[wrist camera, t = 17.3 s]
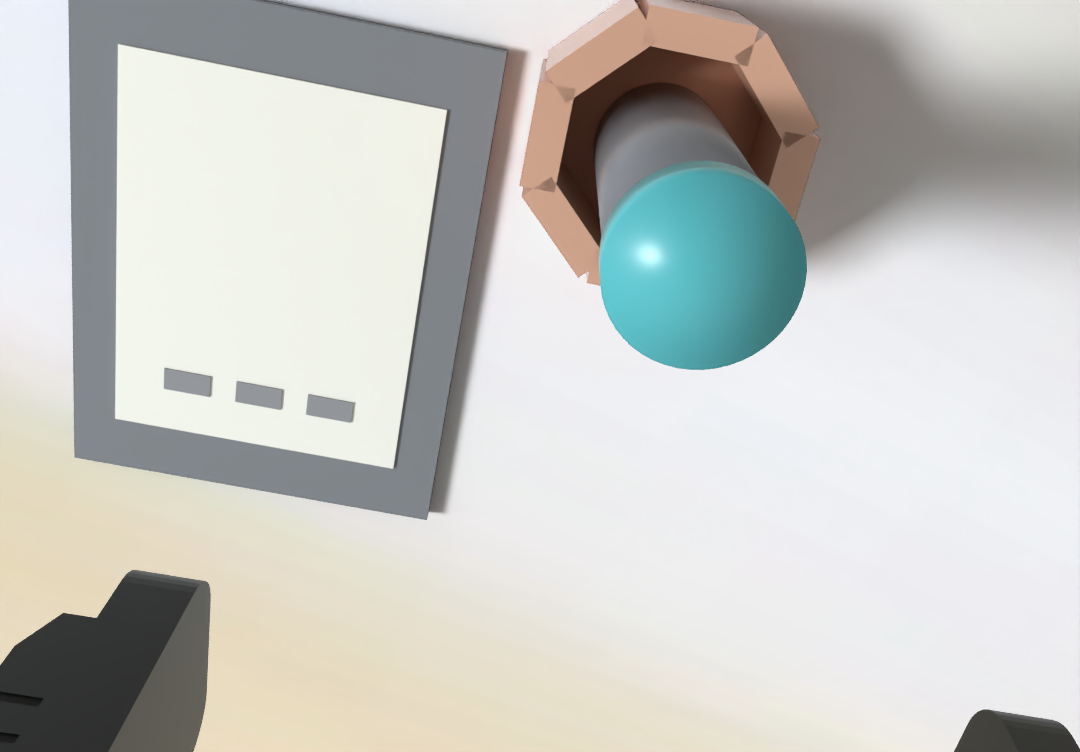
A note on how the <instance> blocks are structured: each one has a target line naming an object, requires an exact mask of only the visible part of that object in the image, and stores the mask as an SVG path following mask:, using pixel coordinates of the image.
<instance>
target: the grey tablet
mask: <svg viewBox="0 0 1080 752" xmlns="http://www.w3.org/2000/svg"><path fill="white" fill-rule="evenodd" d="M507 52H508V50H503V49H498V48H494V47H489V46H484V45H479V44H474V43H469V42H464V41H459V40H455V39H450V38H445V37H440V36H435V35H430V34H425V33H420V32H416V31H411V30H406V29H401V28H396V27H391V26H386V25H381V24H377V23H372V22H367V21H362V20H357V19H352V18H347V17H343V16H338V15H333V14H328V13H323V12H318V11H313V10H308V9H304V8H299V7H294V6H289V5H284V4H279V3H274V2H269V1H265V0H69V72H70V148H71V223H72V298H73V374H74V449H75V458H81V459H87V460H92V461H98V462H104V463H109V464H115V465H120V466H126V467H132V468H137V469H143V470H149V471H154V472H160V473H165V474H171V475H177V476H182V477H188V478H194V479H199V480H205V481H210V482H216V483H222V484H227V485H233V486H238V487H244V488H250V489H255V490H261V491H267V492H272V493H278V494H283V495H289V496H295V497H300V498H306V499H312V500H317V501H323V502H328V503H334V504H340V505H345V506H351V507H357V508H362V509H368V510H373V511H379V512H385V513H390V514H396V515H402V516H407V517H413V518H418V519H424V520H427V517H428V512H429V506H430V501H431V495H432V489H433V483H434V477H435V472H436V466H437V460H438V454H439V448H440V442H441V437H442V431H443V425H444V419H445V413H446V407H447V402H448V396H449V390H450V384H451V378H452V373H453V367H454V361H455V355H456V349H457V343H458V338H459V332H460V326H461V320H462V314H463V308H464V303H465V297H466V291H467V285H468V279H469V274H470V268H471V262H472V256H473V250H474V244H475V239H476V233H477V227H478V221H479V215H480V209H481V204H482V198H483V192H484V186H485V180H486V175H487V169H488V163H489V157H490V151H491V145H492V140H493V134H494V128H495V122H496V116H497V110H498V105H499V99H500V93H501V87H502V81H503V76H504V70H505V64H506V58H507Z"/></svg>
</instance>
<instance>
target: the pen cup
mask: <svg viewBox="0 0 1080 752" xmlns="http://www.w3.org/2000/svg"><path fill="white" fill-rule="evenodd" d="M656 82H665V83H672V84H677V85H680V86H683V87H685V88H688V89H690V90H692V91H693V92H695V93H696V94H698V95H699V96H700V97H701V98H703V99H704V100H705V101H706V103H707V104H708V105H709V106H710V107H711V109H712V110H713V112H714V113H715V115H716V116H717V118H718V119H719V121H720V122H721V124H722V125H723V127H724V128H725V130H726V131H727V132H728V134H729V135H730V137H731V138H732V140H733V141H734V143H735V144H736V146H737V147H738V149H739V150H740V152H741V153H742V155H743V156H744V158H745V159H746V161H747V162H748V164H749V165H750V166H751V168H752V169H753V171H754V172H755V174H756V175H757V177H758V178H759V179H760V180H761V181H762V182H764V183H765V184H766V185H767V186H768V187H769V188H770V189H771V190H772V191H773V192H774V193H775V194H776V196H777V197H778V199H779V200H780V201H781V203H782V204H783V206H784V207H785V209H786V210H787V212H788V213H789V214H790V216H791V217H792V219H793V220H794V221H795V218H796V214H797V211H798V208H799V205H800V202H801V199H802V195H803V192H804V189H805V186H806V183H807V180H808V176H809V173H810V170H811V167H812V164H813V161H814V157H815V154H816V151H817V148H818V145H819V142H820V138H819V137H818V136H817V135H816V134H815V133H814V132H813V131H815V130H816V129H818V128H819V126H818V124H817V122H816V120H815V119H814V117H813V115H812V113H811V111H810V109H809V108H808V106H807V104H806V102H805V100H804V99H803V97H802V95H801V93H800V91H799V90H798V88H797V86H796V84H795V82H794V80H793V79H792V77H791V75H790V73H789V71H788V70H787V68H786V66H785V64H784V62H783V61H782V59H781V57H780V55H779V53H778V51H777V50H776V48H775V46H774V44H773V42H772V41H771V39H770V37H769V35H768V34H767V33H766V32H764V31H763V30H761V29H760V28H759V27H758V26H756V25H755V24H753V23H752V22H750V21H749V20H748V19H746V18H745V17H743V16H742V15H740V14H739V13H737V12H736V11H731V10H726V9H722V8H717V7H712V6H707V5H703V4H698V3H693V2H688V1H684V0H639V1H638V2H635V1H634V0H620V1H619V2H618V3H616V4H615V5H613V6H612V7H610V8H609V9H608V10H606V11H605V12H603V13H602V14H600V15H599V16H598V17H596V18H595V19H593V20H592V21H590V22H589V23H588V24H586V25H585V26H583V27H582V28H580V29H579V30H578V31H576V32H575V33H573V34H572V35H570V36H569V37H568V38H566V39H565V40H563V41H562V42H560V43H559V44H558V45H556V46H555V47H553V48H552V49H550V50H549V52H548V58H547V60H543V63H542V68H541V73H540V79H539V84H538V89H537V95H536V100H535V105H534V111H533V116H532V121H531V127H530V132H529V137H528V143H527V148H526V153H525V159H524V164H523V170H522V175H521V180H520V186H523V192H522V197H523V199H524V200H525V202H526V203H527V205H528V206H529V207H530V209H531V210H532V212H533V213H534V215H535V216H536V217H537V219H538V220H539V222H540V223H541V225H542V226H543V228H544V229H545V230H546V232H547V233H548V235H549V236H550V238H551V239H552V241H553V242H554V243H555V245H556V246H557V248H558V249H559V251H560V252H561V254H562V255H563V256H564V258H565V259H566V261H567V262H568V264H569V265H570V266H571V268H572V269H573V271H574V272H575V274H576V275H577V277H580V276H581V275H583V274H584V273H586V277H587V283H590V284H595V285H600V286H601V284H600V271H599V248H600V242H601V228H600V217H599V206H598V195H597V184H596V173H595V162H594V139H595V134H596V131H597V127H598V125H599V123H600V120H601V118H602V117H603V115H604V113H605V112H606V110H607V109H608V108H609V107H610V105H611V104H612V103H613V102H614V101H615V100H616V99H618V98H619V97H620V96H621V95H623V94H624V93H626V92H628V91H629V90H631V89H633V88H636V87H638V86H641V85H645V84H649V83H656Z"/></svg>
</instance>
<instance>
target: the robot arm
mask: <svg viewBox="0 0 1080 752" xmlns="http://www.w3.org/2000/svg"><path fill="white" fill-rule="evenodd" d="M209 623H210V587H209V584H208V582H206V581H201V580H194V579H188V578H182V577H176V576H170V575H163V574H157V573H151V572H145V571H138V570H132V571H130V572H129V573H127V574H126V575H125V577H124V578H123V579H122V581H121V582H120V584H119V585H118V587H117V588H116V590H115V591H114V593H113V594H112V596H111V597H110V599H109V600H108V602H107V603H106V605H105V606H104V608H103V609H102V611H101V613H100V614H99V616H98V617H97V618H92V617H86V616H79V615H73V614H67V613H63V614H61V615H60V616H58V617H57V618H55V619H54V620H52V621H51V622H49V623H48V624H46V625H45V626H44V627H42V628H41V629H39V630H38V631H36V632H35V633H33V634H32V635H30V636H29V637H27V638H26V639H24V640H23V641H21V642H20V643H18V644H17V645H15V646H14V648H13V649H12V650H11V652H10V653H9V654H8V656H7V657H6V658H5V660H4V661H3V662H2V664H1V665H0V752H193V751H194V748H195V745H196V742H197V739H198V735H199V731H200V728H201V724H202V719H203V714H204V709H205V703H206V693H207V671H208V647H209ZM954 752H1080V749H1079V747H1078V745H1077V744H1076V742H1075V740H1074V738H1073V737H1072V735H1071V734H1070V732H1069V731H1068V730H1067V729H1066V728H1065V727H1064V726H1063V725H1062V724H1061V723H1059V722H1057V721H1054V720H1049V719H1043V718H1037V717H1030V716H1024V715H1018V714H1012V713H1005V712H999V711H993V710H981V711H979V712H977V713H976V714H975V715H974V716H973V717H972V718H971V720H970V721H969V723H968V725H967V727H966V729H965V731H964V733H963V735H962V737H961V739H960V741H959V743H958V745H957V747H956V749H955V751H954Z"/></svg>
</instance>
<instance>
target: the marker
mask: <svg viewBox="0 0 1080 752" xmlns="http://www.w3.org/2000/svg"><path fill="white" fill-rule="evenodd" d="M594 162H595V173H596V184H597V195H598V206H599V217H600V228H601V242H600V248H599V271H600V284H601V292H602V298H603V301H604V305H605V308H606V311H607V313H608V316H609V318H610V320H611V321H612V323H613V325H614V327H615V328H616V330H617V331H618V332H619V333H620V335H621V336H622V337H623V338H624V339H625V340H626V341H627V342H628V343H629V344H630V345H631V346H632V347H633V348H635V349H636V350H637V351H639V352H640V353H641V354H643V355H645V356H647V357H648V358H650V359H652V360H654V361H657V362H659V363H662V364H664V365H668V366H672V367H676V368H682V369H690V370H704V369H713V368H719V367H723V366H728V365H731V364H734V363H736V362H739V361H742V360H744V359H746V358H748V357H750V356H752V355H754V354H755V353H757V352H758V351H760V350H761V349H763V348H764V347H766V346H767V345H768V344H769V343H770V342H772V341H773V340H774V339H775V338H776V337H777V336H778V335H779V334H780V333H781V332H782V331H783V329H784V328H785V327H786V325H787V324H788V323H789V321H790V320H791V318H792V317H793V315H794V313H795V311H796V309H797V307H798V305H799V303H800V300H801V298H802V294H803V291H804V287H805V281H806V273H807V263H806V253H805V247H804V243H803V240H802V237H801V234H800V232H799V230H798V228H797V226H796V224H795V222H794V220H793V219H792V217H791V216H790V214H789V213H788V212H787V210H786V209H785V207H784V206H783V204H782V203H781V201H780V200H779V199H778V197H777V196H776V194H775V193H774V192H773V191H772V190H771V189H770V188H769V187H768V186H767V185H766V184H765V183H764V182H762V181H761V180H760V179H759V178H758V177H757V175H756V174H755V172H754V171H753V169H752V168H751V166H750V165H749V164H748V162H747V161H746V159H745V158H744V156H743V155H742V153H741V152H740V150H739V149H738V147H737V146H736V144H735V143H734V141H733V140H732V138H731V137H730V135H729V134H728V132H727V131H726V130H725V128H724V127H723V125H722V124H721V122H720V121H719V119H718V118H717V116H716V115H715V113H714V112H713V110H712V109H711V107H710V106H709V105H708V104H707V103H706V101H705V100H704V99H703V98H701V97H700V96H699V95H698V94H696V93H695V92H693V91H692V90H690V89H688V88H685V87H683V86H680V85H677V84H672V83H665V82H656V83H649V84H645V85H641V86H638V87H636V88H633V89H631V90H629V91H628V92H626V93H624V94H623V95H621V96H620V97H619V98H618V99H616V100H615V101H614V102H613V103H612V104H611V105H610V107H609V108H608V109H607V110H606V112H605V113H604V115H603V117H602V118H601V120H600V123H599V125H598V127H597V131H596V134H595V139H594Z"/></svg>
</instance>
